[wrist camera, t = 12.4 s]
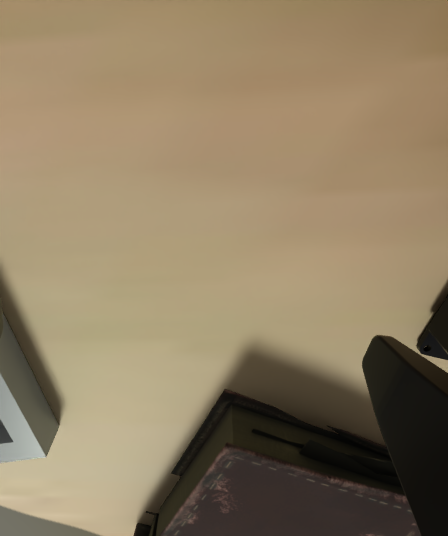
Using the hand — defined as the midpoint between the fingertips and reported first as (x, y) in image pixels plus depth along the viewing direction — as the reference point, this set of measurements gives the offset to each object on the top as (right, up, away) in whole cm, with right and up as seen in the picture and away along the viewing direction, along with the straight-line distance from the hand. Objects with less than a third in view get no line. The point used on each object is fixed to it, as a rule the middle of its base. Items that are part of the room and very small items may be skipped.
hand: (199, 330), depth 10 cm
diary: (+8, -18, +24) cm, 31 cm away
